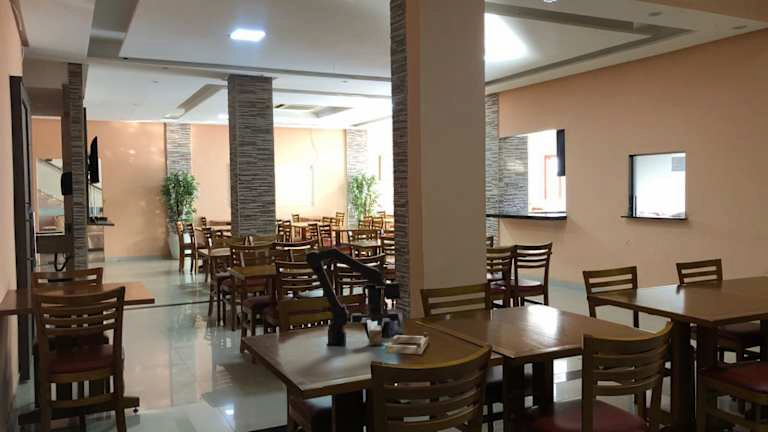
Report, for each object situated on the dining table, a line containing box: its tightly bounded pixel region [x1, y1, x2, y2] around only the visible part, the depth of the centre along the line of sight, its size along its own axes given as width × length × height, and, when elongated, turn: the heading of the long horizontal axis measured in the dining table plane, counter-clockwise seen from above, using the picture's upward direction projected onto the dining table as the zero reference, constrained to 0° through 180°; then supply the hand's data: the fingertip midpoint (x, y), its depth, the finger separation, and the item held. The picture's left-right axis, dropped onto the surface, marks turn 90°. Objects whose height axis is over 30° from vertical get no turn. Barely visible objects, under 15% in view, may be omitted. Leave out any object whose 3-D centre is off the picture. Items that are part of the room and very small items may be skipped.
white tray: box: [385, 331, 429, 355], centre depth 242 cm, size 14×19×4 cm
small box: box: [376, 308, 403, 339], centre depth 263 cm, size 11×6×10 cm, turn 143°
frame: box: [368, 325, 383, 346], centre depth 249 cm, size 5×12×5 cm, turn 2°
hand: (375, 338), depth 249 cm, fingers closed on frame, 5 cm apart
